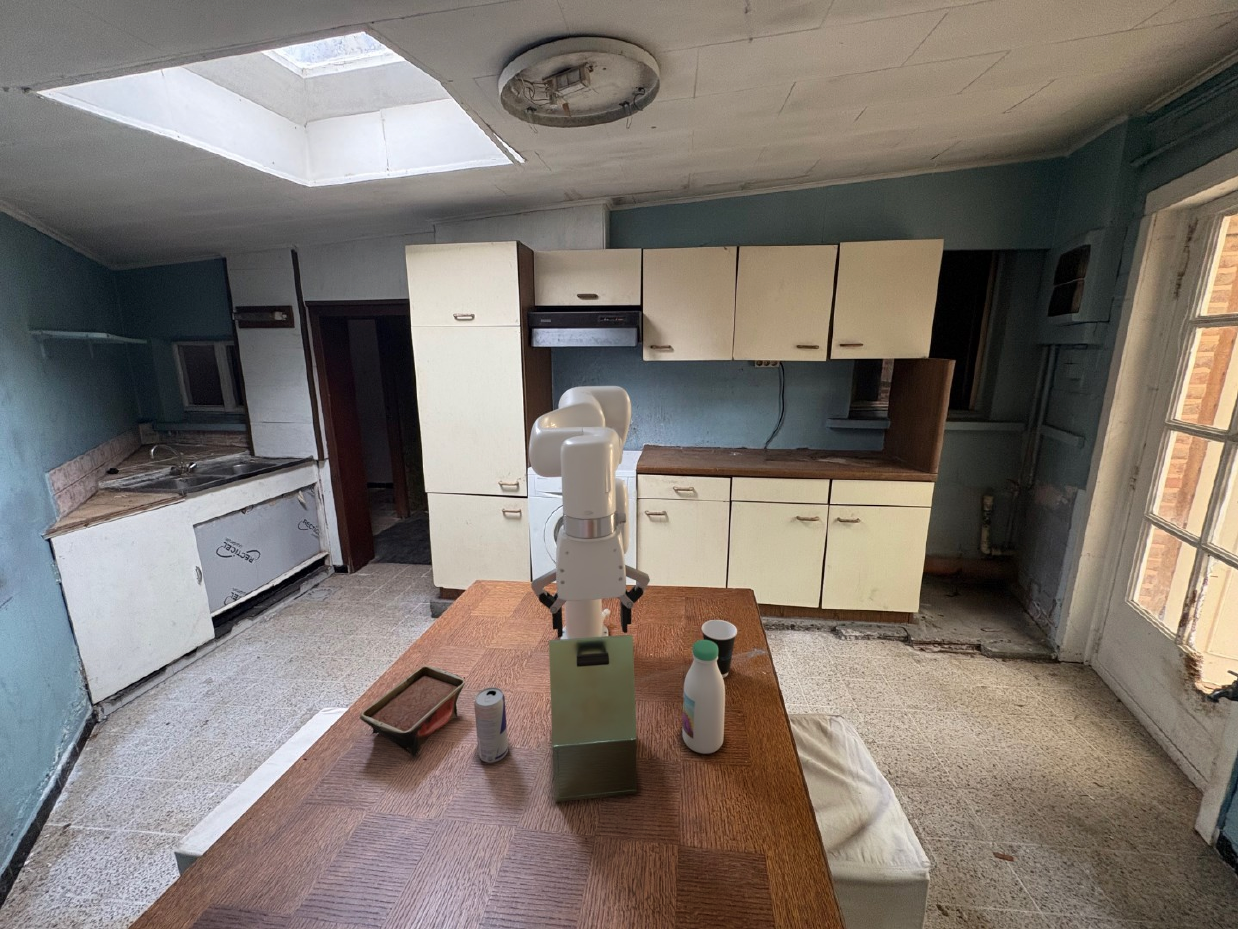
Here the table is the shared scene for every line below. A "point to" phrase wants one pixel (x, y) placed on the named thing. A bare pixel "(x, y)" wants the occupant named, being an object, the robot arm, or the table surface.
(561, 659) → the bin lid
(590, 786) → the bin
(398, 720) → the rectangular footed planter
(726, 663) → the dixie cup
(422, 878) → the table surface
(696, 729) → the milk bottle
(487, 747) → the energy drink
